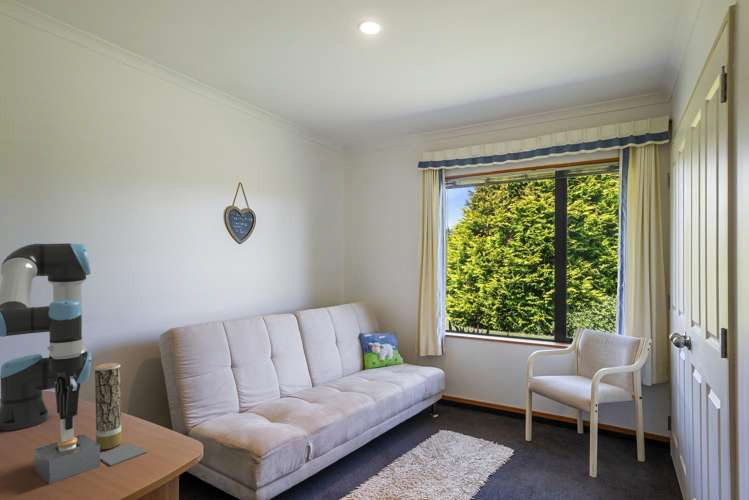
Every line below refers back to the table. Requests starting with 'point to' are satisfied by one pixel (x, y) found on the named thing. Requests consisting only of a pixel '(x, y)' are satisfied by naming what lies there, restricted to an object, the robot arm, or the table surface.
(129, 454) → the mat
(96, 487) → the table surface
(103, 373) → the paper tube
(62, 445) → the plunger
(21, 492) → the table surface
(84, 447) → the block
